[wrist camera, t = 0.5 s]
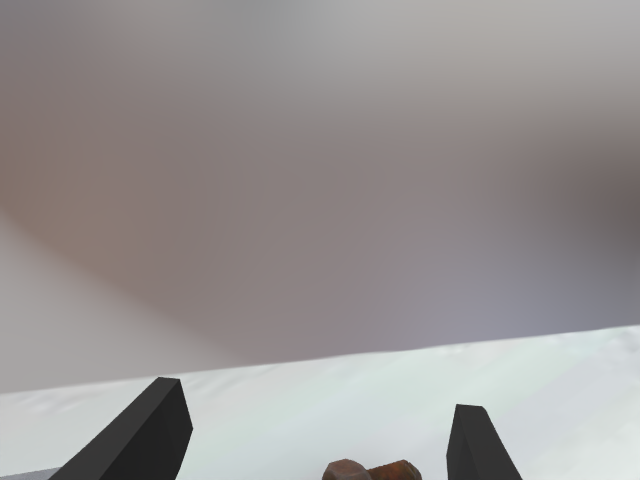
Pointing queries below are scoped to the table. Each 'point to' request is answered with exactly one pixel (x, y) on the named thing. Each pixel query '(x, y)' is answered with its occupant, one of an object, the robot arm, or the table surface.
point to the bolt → (371, 471)
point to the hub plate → (32, 475)
